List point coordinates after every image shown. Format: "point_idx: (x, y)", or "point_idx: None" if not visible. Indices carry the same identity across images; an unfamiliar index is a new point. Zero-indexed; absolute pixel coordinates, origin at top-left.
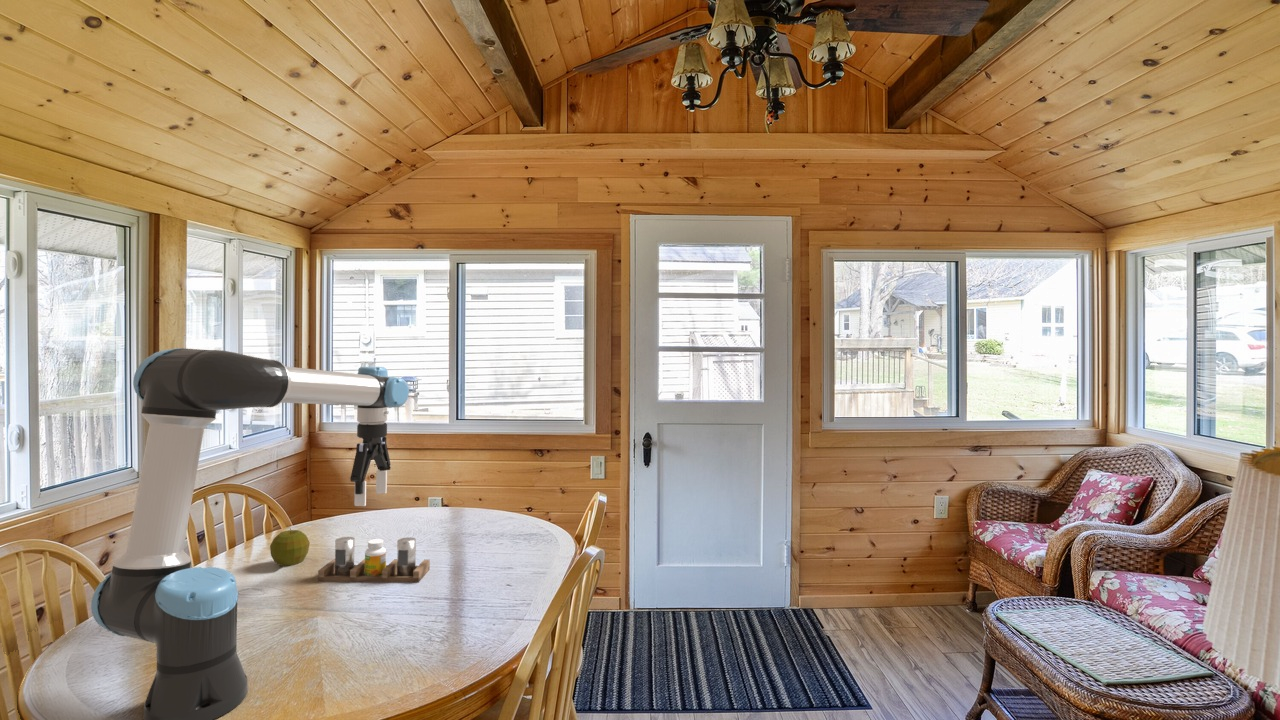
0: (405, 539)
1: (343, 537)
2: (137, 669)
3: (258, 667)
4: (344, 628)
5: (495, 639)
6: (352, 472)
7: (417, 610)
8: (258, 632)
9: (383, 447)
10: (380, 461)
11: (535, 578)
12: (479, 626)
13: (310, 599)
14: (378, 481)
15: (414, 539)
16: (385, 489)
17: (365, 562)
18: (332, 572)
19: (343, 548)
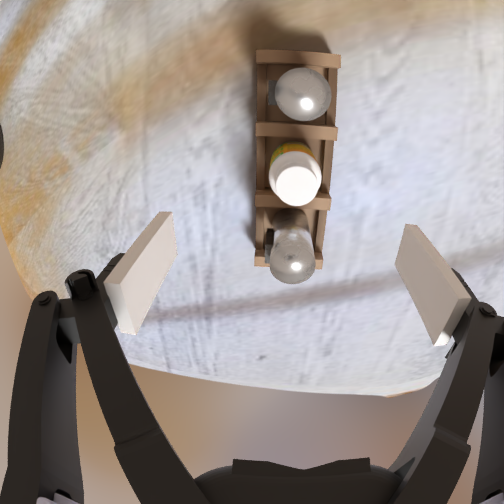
0: (299, 261)
1: (324, 82)
2: (12, 32)
3: (20, 149)
4: (98, 194)
5: (124, 348)
6: (27, 331)
7: None
8: (73, 81)
9: (481, 482)
10: (436, 393)
11: (283, 377)
12: (143, 337)
13: (185, 77)
14: (427, 268)
15: (297, 280)
16: (401, 276)
17: (279, 152)
18: (300, 65)
19: (275, 99)
